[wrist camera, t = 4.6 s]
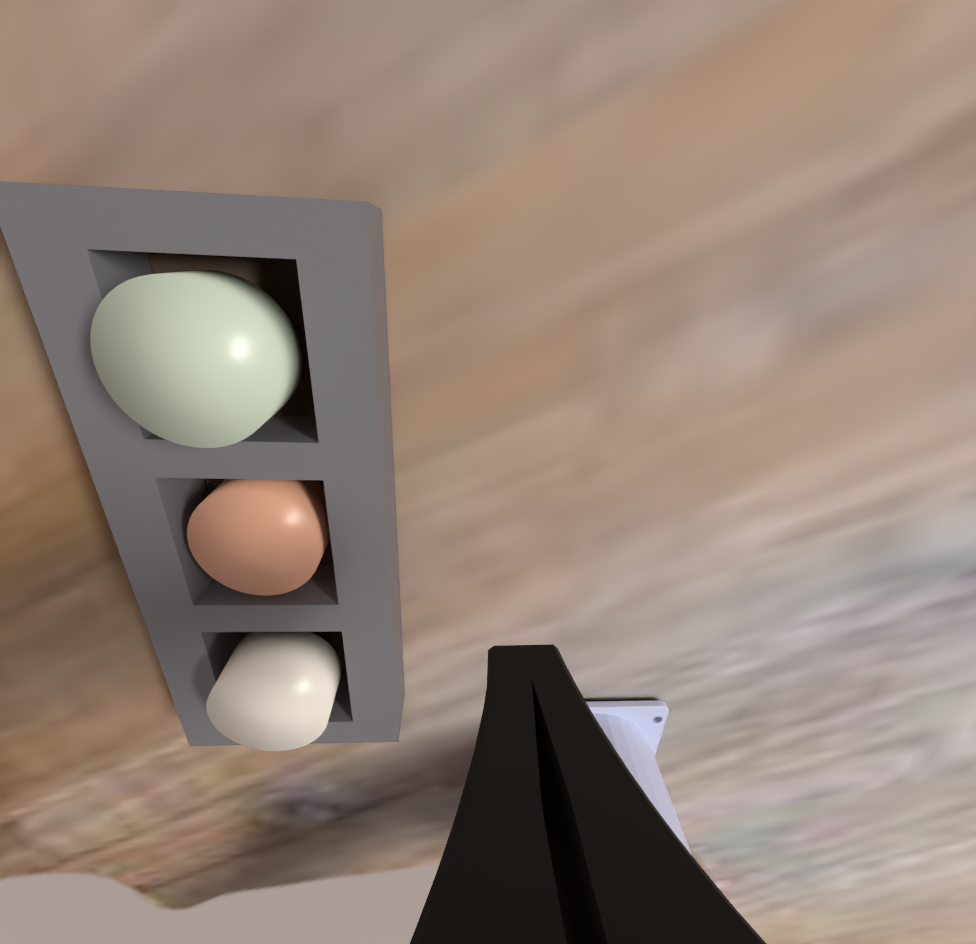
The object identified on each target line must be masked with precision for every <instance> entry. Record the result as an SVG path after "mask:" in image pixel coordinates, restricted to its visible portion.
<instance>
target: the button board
mask: <svg viewBox="0 0 976 944" xmlns="http://www.w3.org/2000/svg"><path fill="white" fill-rule="evenodd" d="M0 227H1V230H2V232H3V235H4V238H5V241H6V243H7V246H8V249H9V252H10V254H11V257H12V260H13V263H14V265H15V268H16V271H17V274H18V276H19V279H20V282H21V285H22V287H23V290H24V293H25V296H26V298H27V301H28V304H29V307H30V309H31V312H32V315H33V317H34V320H35V323H36V326H37V328H38V331H39V334H40V337H41V339H42V342H43V345H44V348H45V350H46V353H47V356H48V359H49V361H50V364H51V367H52V370H53V372H54V375H55V378H56V381H57V383H58V386H59V389H60V392H61V394H62V397H63V400H64V403H65V405H66V408H67V411H68V414H69V416H70V419H71V422H72V425H73V427H74V430H75V433H76V435H77V438H78V441H79V444H80V446H81V449H82V452H83V455H84V457H85V460H86V463H87V466H88V468H89V471H90V474H91V477H92V479H93V482H94V485H95V488H96V490H97V493H98V496H99V499H100V501H101V504H102V507H103V510H104V512H105V515H106V518H107V521H108V523H109V526H110V529H111V532H112V534H113V537H114V540H115V542H116V545H117V548H118V551H119V553H120V556H121V559H122V562H123V564H124V567H125V570H126V573H127V575H128V578H129V581H130V584H131V586H132V589H133V592H134V595H135V597H136V600H137V603H138V606H139V608H140V611H141V614H142V617H143V619H144V622H145V625H146V628H147V630H148V633H149V636H150V639H151V641H152V644H153V647H154V649H155V652H156V655H157V658H158V660H159V663H160V666H161V669H162V671H163V674H164V677H165V680H166V682H167V685H168V688H169V691H170V693H171V696H172V699H173V702H174V704H175V707H176V710H177V713H178V715H179V718H180V721H181V724H182V726H183V729H184V732H185V735H186V737H187V740H188V743H189V746H220V745H241V744H238V743H236V742H234V741H232V740H230V739H229V738H227V737H226V736H224V735H223V734H221V733H220V732H219V731H218V730H217V729H216V728H215V727H214V725H213V724H212V723H211V721H210V719H209V717H208V714H207V710H206V703H207V699H208V696H209V694H210V692H211V690H212V689H213V687H214V685H215V683H216V681H217V680H218V678H219V676H220V674H221V673H222V671H223V669H224V667H225V666H226V664H227V662H228V660H229V658H230V657H231V655H232V653H233V651H234V650H235V648H236V646H237V645H238V643H239V642H240V641H241V640H242V639H243V635H242V632H330V631H342V637H343V645H344V653H345V661H346V669H347V674H341V677H340V681H339V684H338V688H337V692H336V695H335V699H334V702H333V706H332V709H331V713H330V717H329V720H328V723H327V726H326V728H325V730H324V732H323V733H322V734H321V735H320V736H319V737H318V738H317V739H316V740H314V741H313V742H311V743H309V744H314V743H361V742H399V734H400V726H401V718H402V710H403V702H404V695H405V691H404V670H403V649H402V628H401V607H400V587H399V566H398V545H397V524H396V503H395V482H394V462H393V441H392V420H391V399H390V378H389V357H388V337H387V316H386V295H385V274H384V253H383V232H382V212H381V209H380V208H378V207H376V206H374V205H372V204H370V203H368V202H362V201H344V200H326V199H308V198H290V197H273V196H255V195H237V194H219V193H201V192H183V191H165V190H147V189H129V188H111V187H93V186H75V185H57V184H40V183H22V182H4V181H0ZM148 252H154V253H176V254H197V255H218V256H239V257H260V258H282V259H296V262H297V270H298V278H299V286H300V294H301V302H302V311H303V319H304V327H305V335H306V343H307V351H308V360H309V368H310V376H311V384H312V392H313V400H314V408H315V416H288V415H273V416H272V417H271V418H270V419H269V420H267V421H266V422H265V423H264V424H263V425H262V426H261V427H260V428H258V429H257V430H256V431H255V432H254V433H253V434H251V435H250V436H248V437H247V438H245V439H244V440H241V441H239V442H237V443H235V444H231V445H228V446H224V447H217V448H196V447H190V446H184V445H180V444H177V443H174V442H171V441H168V440H166V439H163V438H161V437H159V436H157V435H155V434H153V433H151V432H149V431H148V430H146V429H145V428H143V427H142V426H140V425H139V424H138V423H136V422H135V421H134V420H133V419H131V418H130V417H129V416H128V415H127V414H126V413H125V412H124V411H123V410H122V409H121V408H120V407H119V406H118V405H117V404H116V402H115V401H114V400H113V399H112V398H111V396H110V395H109V393H108V392H107V390H106V389H105V387H104V385H103V383H102V381H101V380H100V378H99V375H98V373H97V370H96V368H95V365H94V361H93V357H92V353H91V345H90V333H91V326H92V321H93V318H94V315H95V312H96V310H97V308H98V306H99V305H100V303H101V301H102V300H103V299H104V298H105V296H106V295H107V294H108V293H109V292H110V291H111V290H113V289H114V288H115V287H116V286H118V285H120V284H121V283H123V282H125V281H127V280H130V279H132V278H135V277H138V276H144V275H150V274H153V272H152V268H151V264H150V260H149V256H148ZM204 478H206V479H268V480H323V482H324V490H325V498H326V506H327V514H328V523H329V531H330V539H331V547H332V555H333V563H334V564H319V565H318V567H317V569H316V571H315V573H314V574H313V575H312V577H311V578H310V579H309V580H308V581H307V582H306V583H304V584H303V585H302V586H300V587H298V588H297V589H295V590H292V591H290V592H287V593H283V594H278V595H267V596H264V595H253V594H247V593H243V592H239V591H237V590H234V589H231V588H229V587H227V586H225V585H223V584H221V583H220V582H218V581H216V580H215V579H214V578H212V577H211V576H210V575H209V574H207V573H206V572H205V571H204V570H203V569H202V568H201V566H200V565H199V564H198V563H197V561H196V560H195V558H194V556H193V554H192V553H191V550H190V547H189V544H188V539H187V528H188V523H189V520H190V517H191V515H192V513H193V511H194V510H195V509H196V508H197V506H198V505H199V504H200V503H201V502H202V501H203V500H204V499H205V498H206V497H208V494H207V490H206V486H205V482H204Z"/></svg>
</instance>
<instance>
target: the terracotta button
mask: <svg viewBox="0 0 976 944" xmlns="http://www.w3.org/2000/svg"><path fill="white" fill-rule="evenodd" d="M187 539H188V544H189V547H190V550H191V553H192V554H193V556H194V558H195V560H196V561H197V563H198V564H199V565H200V566H201V568H202V569H203V570H204V571H205V572H206V573H207V574H209V575H210V576H211V577H212V578H214V579H215V580H216V581H218V582H220V583H221V584H223V585H225V586H227V587H229V588H231V589H234V590H237V591H239V592H243V593H247V594H253V595H264V596H267V595H278V594H283V593H287V592H290V591H292V590H295V589H297V588H298V587H300V586H302V585H303V584H304V583H306V582H307V581H308V580H309V579H310V578H311V577H312V575H313V574H314V573H315V571H316V569H317V567H318V565H319V563H320V560H321V558H322V556H323V554H324V551H325V549H326V547H327V545H328V543H329V540H330V531H329V523H328V514H327V506H326V498H325V490H324V487H323V486H322V485H321V483H320V482H319V481H317V480H268V479H225V480H224V481H223V482H222V483H221V484H220V485H219V486H218V487H217V488H216V489H215V490H214V491H213V492H212V493H211V494H210V495H209V496H208V497H206V498H205V499H204V500H203V501H202V502H201V503H200V504H199V505H198V506H197V508H196V509H195V510H194V511H193V513H192V515H191V517H190V520H189V523H188V528H187Z"/></svg>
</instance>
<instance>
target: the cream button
mask: <svg viewBox="0 0 976 944" xmlns="http://www.w3.org/2000/svg"><path fill="white" fill-rule="evenodd" d="M341 673H342V665H341V660H340V658H339V655H338V654H337V652H336V651H335V649H334V648H333V647H332V646H331V645H330V644H329V643H328V642H327V641H325V640H324V639H323V638H321V637H319V636H318V635H316V634H314V633H311V632H252V633H250V634H248V635H247V636H246V637H244V638H243V639H242V640H241V641H240V642H239V643H238V645H237V646H236V648H235V650H234V651H233V653H232V655H231V657H230V658H229V660H228V662H227V664H226V666H225V667H224V669H223V671H222V673H221V674H220V676H219V678H218V680H217V681H216V683H215V685H214V687H213V689H212V690H211V692H210V694H209V696H208V699H207V703H206V710H207V714H208V717H209V719H210V721H211V723H212V724H213V725H214V727H215V728H216V729H217V730H218V731H219V732H220V733H221V734H223V735H224V736H226V737H227V738H229V739H230V740H232V741H234V742H236V743H238V744H241V745H243V746H246V747H250V748H253V749H259V750H266V751H285V750H292V749H296V748H300V747H302V746H305V745H307V744H309V743H311V742H313V741H314V740H316V739H317V738H318V737H319V736H320V735H321V734H322V733H323V732H324V730H325V728H326V726H327V723H328V720H329V717H330V713H331V709H332V706H333V702H334V699H335V695H336V692H337V688H338V684H339V681H340V677H341Z"/></svg>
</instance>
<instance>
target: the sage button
mask: <svg viewBox="0 0 976 944" xmlns="http://www.w3.org/2000/svg"><path fill="white" fill-rule="evenodd" d="M90 345H91V353H92V357H93V361H94V365H95V368H96V370H97V373H98V375H99V378H100V380H101V381H102V383H103V385H104V387H105V389H106V390H107V392H108V393H109V395H110V396H111V398H112V399H113V400H114V401H115V402H116V404H117V405H118V406H119V407H120V408H121V409H122V410H123V411H124V412H125V413H126V414H127V415H128V416H129V417H130V418H131V419H133V420H134V421H135V422H136V423H138V424H139V425H140V426H142V427H143V428H145V429H146V430H148V431H149V432H151V433H153V434H155V435H157V436H159V437H161V438H163V439H166V440H168V441H171V442H174V443H177V444H180V445H184V446H190V447H196V448H217V447H224V446H228V445H231V444H235V443H237V442H239V441H241V440H244V439H245V438H247V437H248V436H250V435H251V434H253V433H254V432H255V431H256V430H257V429H258V428H260V427H261V426H262V425H263V424H264V423H265V422H266V421H267V420H269V419H270V418H271V417H272V416H273V415H274V414H275V413H276V412H278V411H279V410H280V409H281V408H282V407H283V406H284V405H285V404H286V403H287V402H288V401H289V400H290V399H291V397H292V396H293V394H294V393H295V391H296V389H297V387H298V384H299V381H300V377H301V373H302V352H301V347H300V343H299V340H298V337H297V334H296V331H295V329H294V327H293V325H292V323H291V321H290V320H289V318H288V317H287V315H286V314H285V312H284V311H283V310H282V308H281V307H280V306H279V305H278V304H277V303H276V302H275V301H274V300H273V298H272V297H270V296H269V295H268V294H267V293H266V292H264V291H263V290H262V289H260V288H259V287H257V286H256V285H254V284H253V283H251V282H249V281H247V280H245V279H243V278H241V277H238V276H236V275H233V274H230V273H226V272H221V271H214V270H197V271H185V272H173V273H161V274H150V275H144V276H138V277H135V278H132V279H130V280H127V281H125V282H123V283H121V284H120V285H118V286H116V287H115V288H114V289H113V290H111V291H110V292H109V293H108V294H107V295H106V296H105V298H104V299H103V300H102V301H101V303H100V305H99V306H98V308H97V310H96V312H95V315H94V318H93V321H92V326H91V333H90Z"/></svg>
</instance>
